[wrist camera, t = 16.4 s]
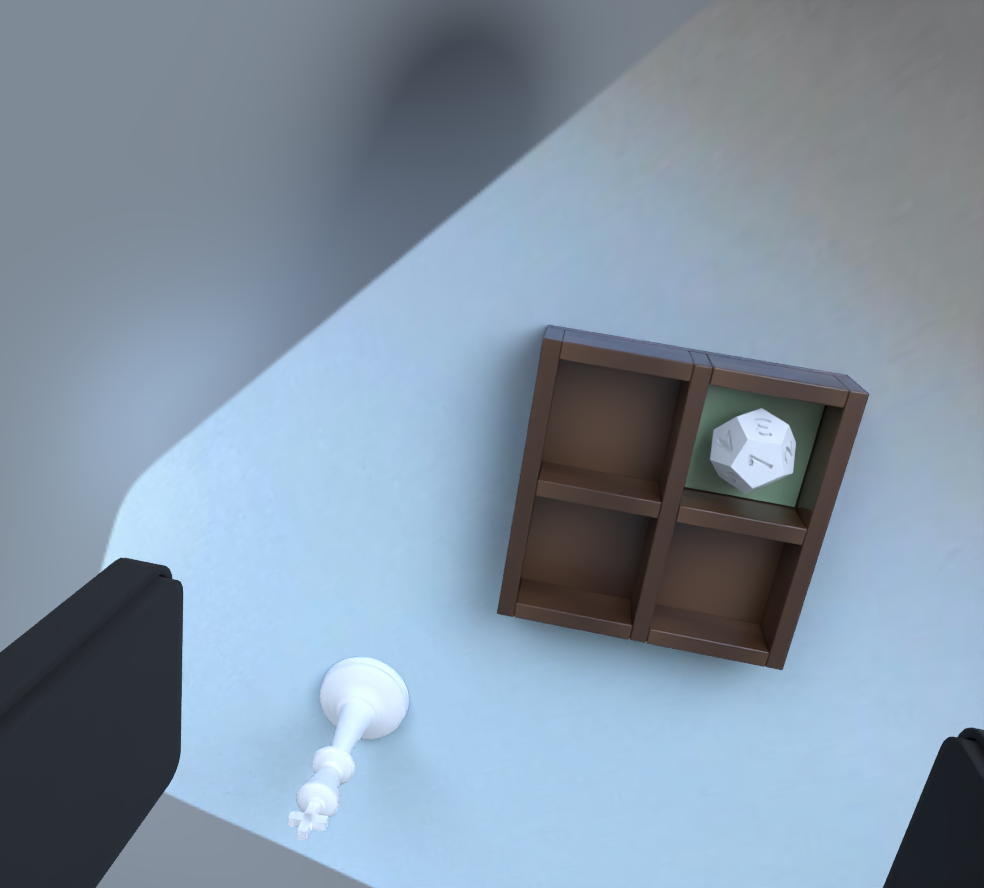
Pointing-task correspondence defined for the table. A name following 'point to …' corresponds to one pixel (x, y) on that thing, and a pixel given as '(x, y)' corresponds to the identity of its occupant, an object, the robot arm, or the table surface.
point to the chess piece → (348, 732)
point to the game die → (753, 450)
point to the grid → (671, 496)
